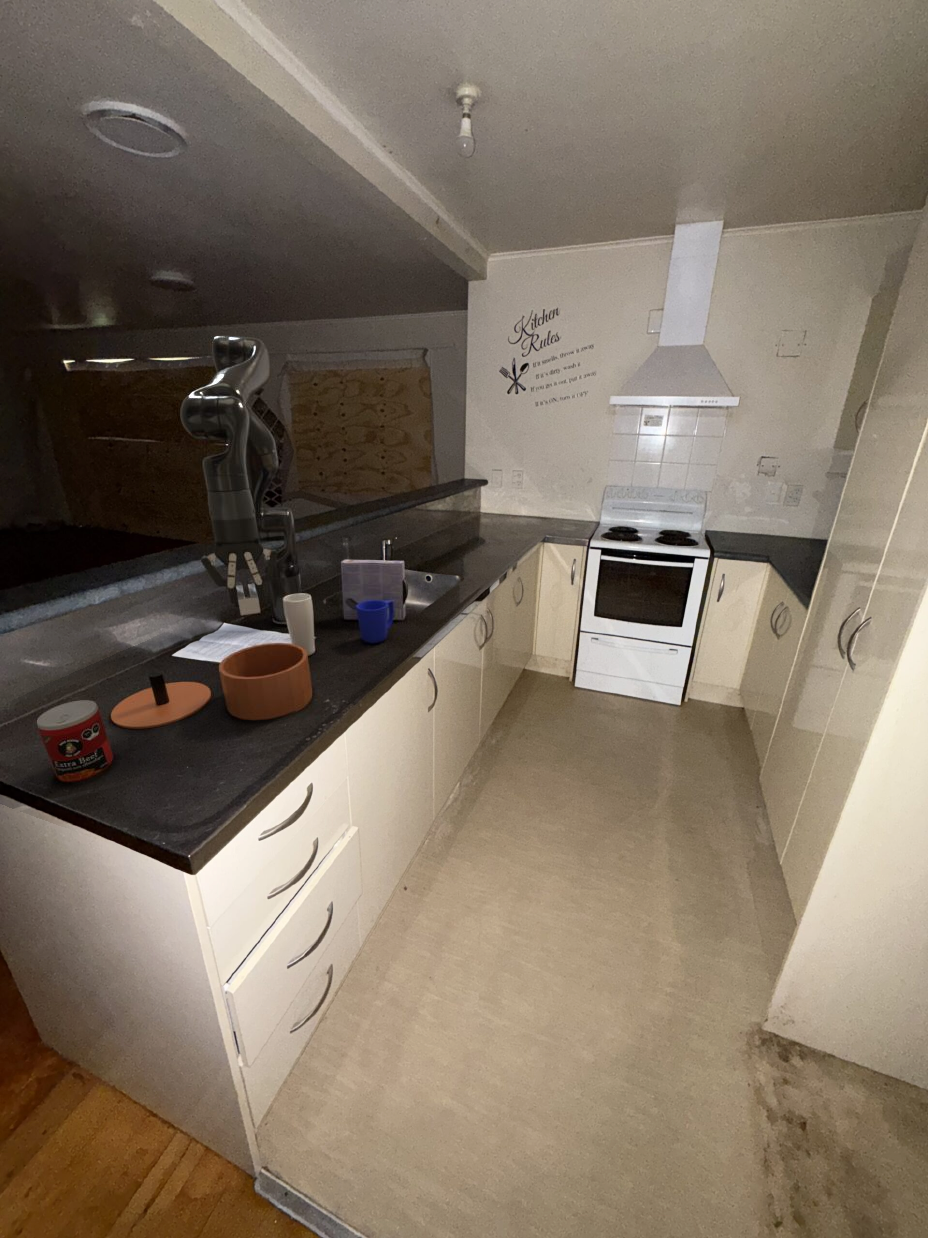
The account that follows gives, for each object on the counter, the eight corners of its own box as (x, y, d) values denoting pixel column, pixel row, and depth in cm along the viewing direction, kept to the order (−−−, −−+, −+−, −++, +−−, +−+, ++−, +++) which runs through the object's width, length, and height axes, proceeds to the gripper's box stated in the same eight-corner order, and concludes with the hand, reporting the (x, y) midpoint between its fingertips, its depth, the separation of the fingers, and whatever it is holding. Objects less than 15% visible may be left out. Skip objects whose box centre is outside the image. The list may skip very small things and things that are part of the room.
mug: (405, 633, 135) (403, 599, 132) (375, 648, 126) (372, 612, 122) (382, 627, 139) (380, 594, 136) (352, 641, 130) (349, 606, 126)
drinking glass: (322, 648, 126) (315, 593, 121) (312, 659, 120) (304, 602, 114) (297, 647, 127) (289, 592, 121) (286, 658, 120) (277, 601, 115)
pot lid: (119, 697, 103) (110, 665, 100) (211, 679, 110) (205, 649, 107) (104, 741, 88) (92, 705, 85) (211, 717, 95) (204, 683, 93)
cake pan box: (409, 615, 149) (407, 558, 142) (407, 621, 144) (404, 563, 138) (347, 614, 149) (342, 558, 143) (343, 620, 144) (337, 563, 138)
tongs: (237, 596, 100) (235, 582, 99) (255, 593, 101) (253, 580, 100) (240, 615, 89) (237, 600, 88) (260, 612, 90) (258, 597, 89)
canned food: (52, 791, 76) (29, 731, 72) (63, 762, 82) (43, 706, 78) (111, 776, 79) (92, 718, 75) (117, 749, 86) (100, 695, 82)
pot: (226, 691, 105) (218, 651, 102) (305, 675, 112) (300, 637, 108) (229, 730, 91) (219, 686, 88) (318, 709, 98) (313, 667, 94)
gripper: (271, 509, 95) (284, 593, 101) (190, 514, 89) (208, 603, 95) (276, 514, 89) (288, 603, 95) (188, 520, 83) (208, 615, 89)
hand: (248, 603), depth 95 cm, fingers closed on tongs, 3 cm apart
